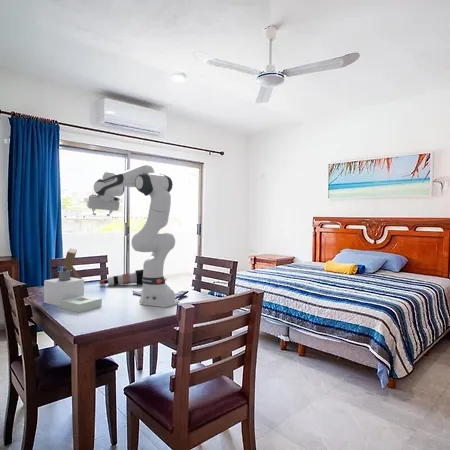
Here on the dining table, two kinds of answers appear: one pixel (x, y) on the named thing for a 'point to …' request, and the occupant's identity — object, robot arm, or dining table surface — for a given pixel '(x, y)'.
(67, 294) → the block
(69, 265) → the photo frame
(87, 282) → the dining table surface
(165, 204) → the robot arm
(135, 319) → the dining table surface
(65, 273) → the plug
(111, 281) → the grey banded tapered cylinder
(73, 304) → the plate
